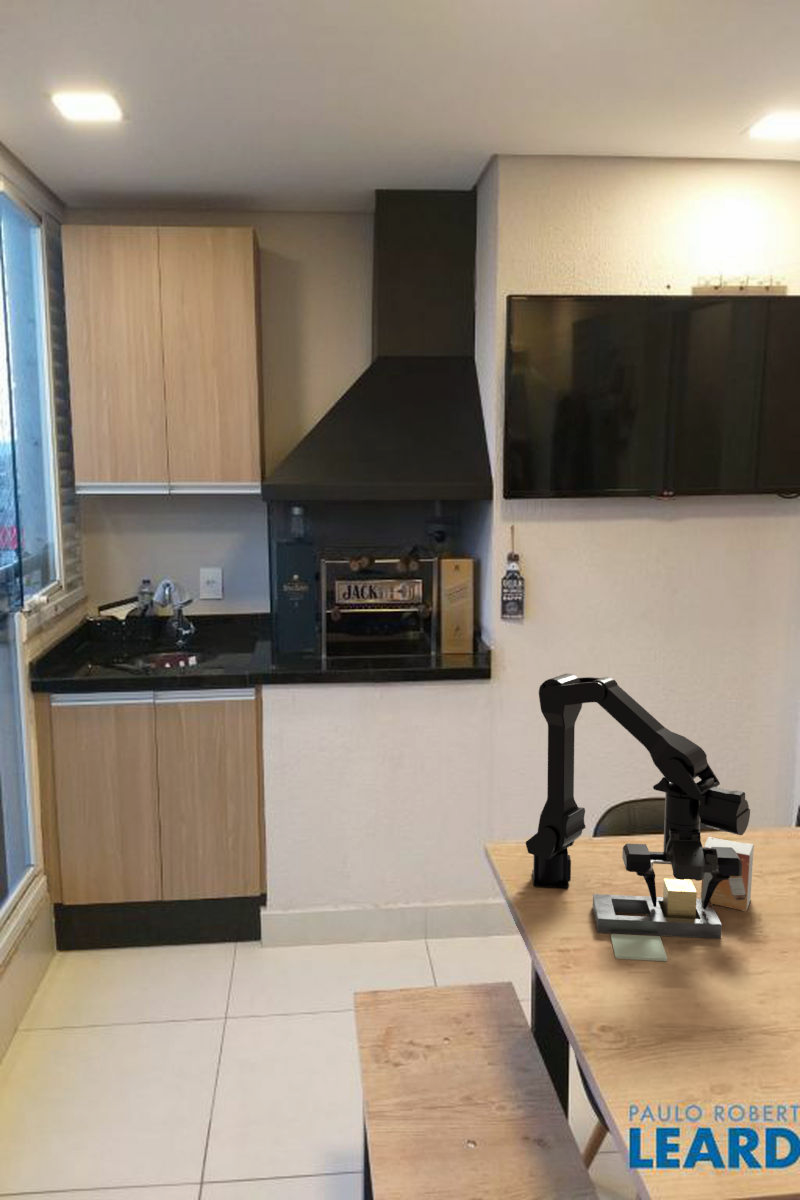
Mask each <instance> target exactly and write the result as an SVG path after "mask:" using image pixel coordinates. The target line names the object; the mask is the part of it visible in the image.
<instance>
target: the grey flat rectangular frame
mask: <svg viewBox="0 0 800 1200" xmlns="http://www.w3.org/2000/svg"><path fill="white" fill-rule="evenodd" d="M656 898H657V901H656V907H654V906H653V903H652V900H651V896H650V895H649V896H646V895H627V894H626V895H621V894H603V893H602V894H601V893H600V894H599V893H593V894H592V909H593V910H592V911H593V915H594V919H595V920H594V921H595V925H596V930H597V933H599V934H600V933H601V934H620V935H640V936H660V937H676V938H677V937H679V938H696V939H697V938H698V939H719V940H721V939H722V929H723V928H722V922H721V920H720V918H719V916H718V914H717V912H716V909H715V907H714V904H712V903H711V901H709V903H708V905H707V907H706V909H703V907H702V899H701V898H696V919H685V918H664V916H663V896H656ZM616 913H621V915H619V914H618V915H617V914H616ZM622 914H638V916H637V915H622ZM639 914H642V915H643V914H644V915H645V916H642V915H641V916H639Z"/></svg>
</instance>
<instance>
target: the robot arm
mask: <svg viewBox="0 0 800 1200" xmlns="http://www.w3.org/2000/svg"><path fill="white" fill-rule="evenodd" d="M538 689H539V690H538V698H539V705H540V711H541V713H542V715H543V718H544V720H545V721H546V723H547V793H546V794H547V798H546V801H545V802H544V806H543V807H542V810H541V813H540V814H539V821H538V827H537V832H536V833H535V834H534V835H532V836H531V837H530V838H528V839H527V840H526V841H525V846H526V850H527V853H528V854H531V855H533V858H532V859H533V862H532V864H533V869H532V870H531V871H532V884H533V887H537V888H554V889H555V888H557V889H559V888H560V889H568V888H569V885H570V884H569V882H570V881H571V875H572V874H571V873H572V860H571V855H570V854H569V852H568V848H570V847H573V845H574V844H575V841H576V840H577V839H579V837H581V836H582V833H583V830H584V829H586V824H585V813H586V809H585V807H580V806H578V804H577V803H576V800H575V797H574V793H575V791H574V789H575V784H574V783H575V725H576V721H577V720H578V717H579V715H580V712H581V711H582V707H583V704H588V703H596V704H598V706H600V707H601V708H602V709H603V710H605V712H606V713H608V714H609V715H610V716H611V717H612V718H613V719H614V720H615V721H616V722H617V723H618V724H619V725H621V726H622V727H623V728H624V729H625V730H626V731H627V732H628V733H629V734H630V735H631V736H632V737H634V739H636V741H638V742H639V743H640V744H641V745H642V746H644V748H645V749H646V751H648V753H649V755H650V756H651V761H652V762H653V764H654V766H655V767H656V768H657V769H658V771H659V772H660V773H661V775H662V776H663V777H662V778H661V780H660V781H659V782H657V783H656V784H654V785H653V786H652V789H653V790H654V791H658V792H662V793H665V797H664V798H665V799H664V800H665V801H664V821H663V823H664V826H663V827H664V829H663V851H650V850H649V848H648V845H647V844H645V843H625V844H624V846H623V847H622V861H623V864H624V867H625V870H626V871H628V872H630V873H636V875H637V876H639V877H643V879H644V881H645V883H646V886H647V889H648V892H649V897H651V900H652V903H653V906H654V907H656V901H657V898H656V897H657V890H656V889H657V888H656V887H657V886H656V873H655V870H654V868H653V866H654V864H656V865H657V864H659V865H671V869H672V875H673V878H674V879H679V880H695V881H697V882H699V881H702V880H703V889H702V907H703V909H706V907H707V905H708V903H709V901H710V899H711V897H712V894H713V892H714V890H715V888H716V887H717V885H718V884H719V883H720V882H721V881H723V880H728V879H729V878H730V876H740V875H742V863H741V860H740V858H739V856H738V855H737V853H736V851H735V850H734V849H733V848H732V847H711V849H706V847H704V846H703V844H702V842H701V839H702V838H701V837H702V836H701V831H700V830H701V824H702V825H704V826H705V827H706V828H707V827H708V828H710V829H713V830H718V831H721V832H726V833H730V834H734V835H738V836H743V835H744V834H745V833H746V831H747V828H748V827H749V823H750V817H751V809H750V808H749V807H750V806H749V802H748V800H747V799H746V792H745V791H739V790H730V789H727V788H721V787H718V786H720V780H719V779H718V778H717V775H716V774H715V773H714V771H713V769H712V768H711V767H710V764H709V763H708V759H707V757H708V756H707V754H706V752H705V750H704V749H703V748H702V747H700V746H699V745H698V744H696V743H695V742H693V741H692V740H690V739H689V738H687V737H685V736H684V735H681V734H678V733H676V732H673V731H672V730H669V729H668V728H666V727H665V726H664V725H663V724H661V722H660V721H658V720H657V719H656V718H655V717H654V716H653V715H652V714H650V712H648V711H647V710H646V709H645V708H644V706H642V705H641V704H639V703H638V702H637V701H636V700H635V699H634V698H633V697H632V696H631V695H629V694H628V693H627V692H626V691H625V690H624V689H623V688H622V687H620V686H619V684H618V682H617V681H616V679H614V678H613V677H609V676H604V677H595V676H594V677H592V676H587V677H579V676H576V675H575V674H572V673H564V674H561V675H558V676H555V677H552V678H549V679H546V680H544V681H543V682H542V683H541V684H540V686H539V687H538ZM696 778H699V781H698V782H696V781H695V780H696Z"/></svg>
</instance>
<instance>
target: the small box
mask: <svg viewBox="0 0 800 1200" xmlns="http://www.w3.org/2000/svg"><path fill="white" fill-rule="evenodd" d="M754 846H755V845H754V844H753V843H747V842H746V843H745V842H741V841H740V842H739V841H734V840H727V839H721V838H716V837H713V836H708V837H707V838H706V842H705V844H704V846H703V847H706V849H711V847H732V848H733V849H734V850H735V851H736V853H737V855H738V856H739V858H740V860H741V863H742V875H740V876H730V878H729V879H728V880H723V881H721V882H720V883H719V884H718V885H717V887H716V888H715V890H714V892H713V894H712V897H711V899H710V901H711V903H712V905H717V906H721V907H727V908H730V909H735V910H740V911H742V912H747V910H748V908H749V905H750V902H751V895H752V881H753V880H752V879H753V865H754V863H753V861H754ZM700 886H701V888H700V899H702V889H703V880H701V885H700Z"/></svg>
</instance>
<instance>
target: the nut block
mask: <svg viewBox="0 0 800 1200" xmlns="http://www.w3.org/2000/svg"><path fill="white" fill-rule="evenodd" d="M662 889H663V891H662V897H663V916H664V918H685V919H696V899H697V895H698V893H697V890H696V888H695V886H694V883H693V881H692V879H684V880H679V879H676V878H663V888H662Z"/></svg>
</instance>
